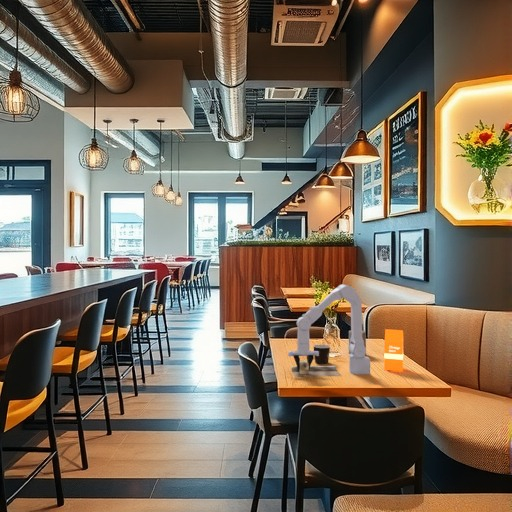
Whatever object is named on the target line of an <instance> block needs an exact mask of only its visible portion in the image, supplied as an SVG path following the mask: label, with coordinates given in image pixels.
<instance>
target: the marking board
mask: <svg viewBox="0 0 512 512" xmlns="http://www.w3.org/2000/svg"><path fill="white" fill-rule="evenodd" d="M290 370H291V372H292V374H293V376H294V377H295V378H309V377H311V378H315V377H316V378H317V377H320V378H321V377H342V375H341V373H340V371H338V370H337V366H336V365H313V366H311V365H310V369H309V374H300V373H299V372H298V370H297V365H296V366H291V368H290Z"/></svg>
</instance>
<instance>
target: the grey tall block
mask: <svg viewBox="0 0 512 512" xmlns="http://www.w3.org/2000/svg"><path fill="white" fill-rule="evenodd" d="M350 338H351V329H350V330H348V345H349V344H350ZM362 338H363V341H364V346H365V348H366V349H367V342H366V341H367V339H366V338H367V336H366V330H363V329H362ZM350 353H351V352H350V351H349V350H348V355H349V354H350ZM366 355H367V353H366V354H365V356H366Z"/></svg>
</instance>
